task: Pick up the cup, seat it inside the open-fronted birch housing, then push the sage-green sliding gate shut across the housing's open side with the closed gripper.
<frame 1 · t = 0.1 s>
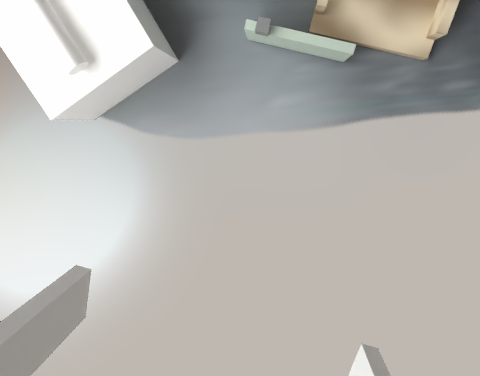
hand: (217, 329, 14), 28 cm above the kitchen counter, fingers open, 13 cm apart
tissue box: (82, 5, 38), on the kitchen counter
gate: (298, 40, 33), point 3 cm above the kitchen counter, slide at 8.0 cm
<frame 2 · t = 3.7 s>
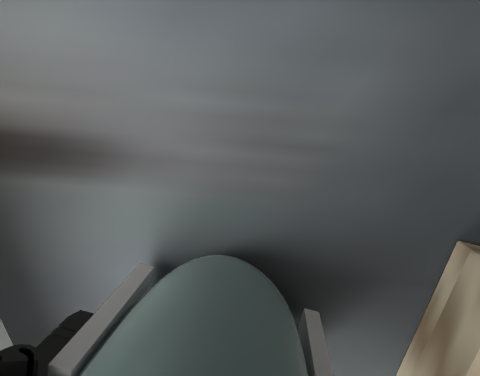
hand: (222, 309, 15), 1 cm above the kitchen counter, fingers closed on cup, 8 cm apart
cup: (225, 298, 16), on the kitchen counter, touching gripper
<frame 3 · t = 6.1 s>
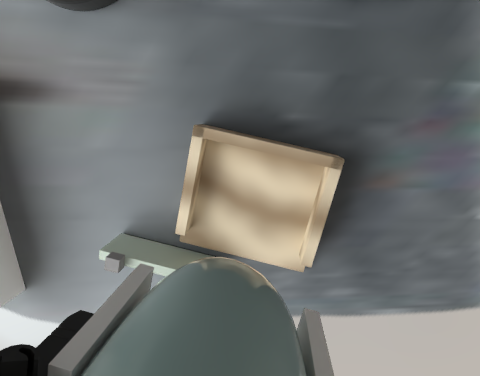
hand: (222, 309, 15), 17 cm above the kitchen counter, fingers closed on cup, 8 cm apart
cup: (224, 300, 16), point 16 cm above the kitchen counter, touching gripper
gate: (161, 261, 31), point 3 cm above the kitchen counter, slide at 8.0 cm
housing: (254, 198, 32), on the kitchen counter
when the fingers open (4 cm above the kitchen counter, at t = 8.5 s): cup drops 2 cm, resting on housing.
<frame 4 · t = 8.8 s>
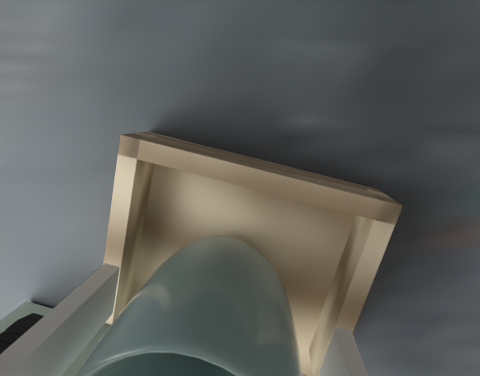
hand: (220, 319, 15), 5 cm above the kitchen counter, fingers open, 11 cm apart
cup: (225, 275, 19), point 1 cm above the kitchen counter, touching housing
gate: (78, 360, 19), point 3 cm above the kitchen counter, slide at 8.0 cm
housing: (236, 256, 19), on the kitchen counter
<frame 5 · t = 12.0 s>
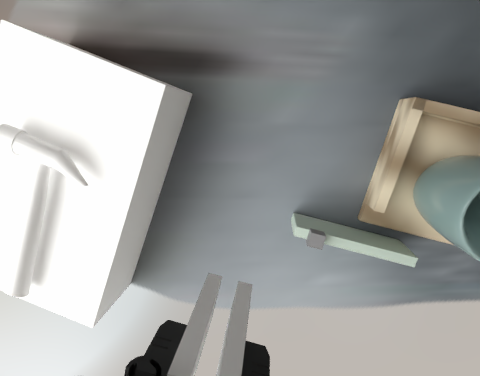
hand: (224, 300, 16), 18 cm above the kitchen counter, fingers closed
cup: (440, 187, 31), point 1 cm above the kitchen counter, touching housing
tissue box: (104, 173, 36), on the kitchen counter
gate: (350, 240, 31), point 3 cm above the kitchen counter, slide at 8.0 cm
housing: (443, 177, 31), on the kitchen counter
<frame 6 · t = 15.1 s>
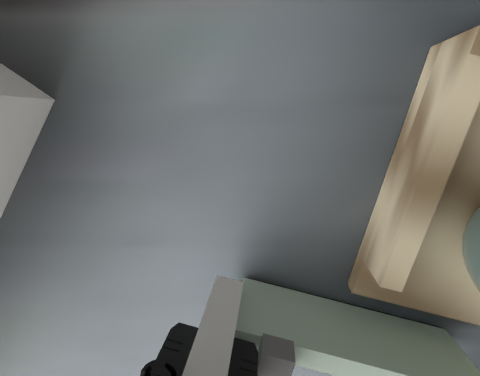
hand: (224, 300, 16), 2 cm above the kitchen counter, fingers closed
gate: (352, 345, 15), point 3 cm above the kitchen counter, slide at 7.0 cm, touching gripper
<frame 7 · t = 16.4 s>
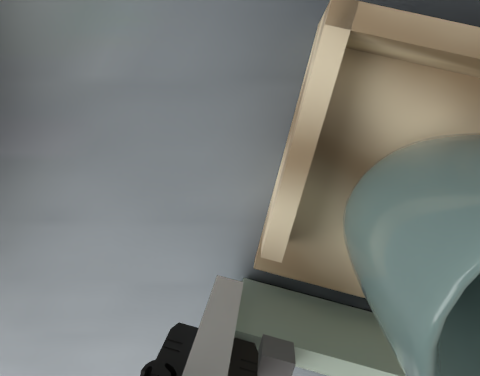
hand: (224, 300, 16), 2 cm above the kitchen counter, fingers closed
cup: (405, 206, 15), point 1 cm above the kitchen counter, touching housing
gate: (352, 347, 15), point 3 cm above the kitchen counter, slide at 1.4 cm, touching gripper
housing: (412, 185, 16), on the kitchen counter
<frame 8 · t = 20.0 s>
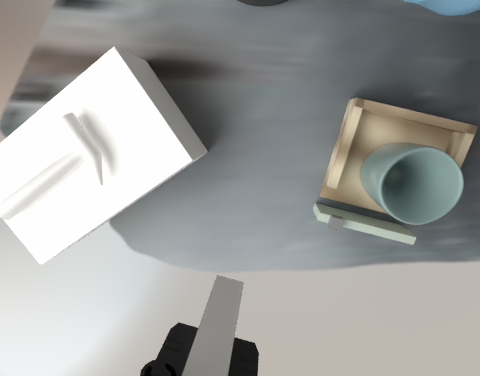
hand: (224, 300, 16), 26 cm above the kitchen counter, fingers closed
cup: (383, 169, 39), point 1 cm above the kitchen counter, touching housing
tissue box: (112, 157, 43), on the kitchen counter
gate: (362, 224, 38), point 3 cm above the kitchen counter, slide at 1.3 cm
housing: (386, 161, 39), on the kitchen counter
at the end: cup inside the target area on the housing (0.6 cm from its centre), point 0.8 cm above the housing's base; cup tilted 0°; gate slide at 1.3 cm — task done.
